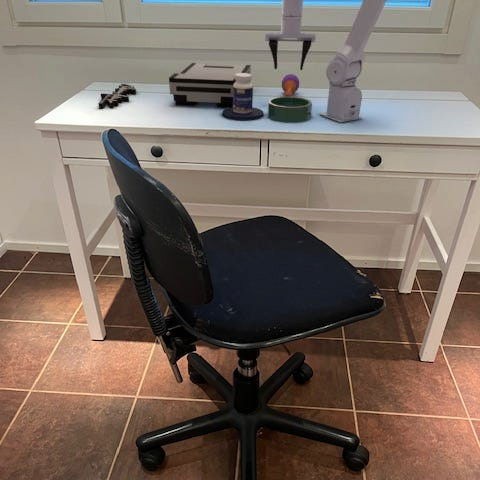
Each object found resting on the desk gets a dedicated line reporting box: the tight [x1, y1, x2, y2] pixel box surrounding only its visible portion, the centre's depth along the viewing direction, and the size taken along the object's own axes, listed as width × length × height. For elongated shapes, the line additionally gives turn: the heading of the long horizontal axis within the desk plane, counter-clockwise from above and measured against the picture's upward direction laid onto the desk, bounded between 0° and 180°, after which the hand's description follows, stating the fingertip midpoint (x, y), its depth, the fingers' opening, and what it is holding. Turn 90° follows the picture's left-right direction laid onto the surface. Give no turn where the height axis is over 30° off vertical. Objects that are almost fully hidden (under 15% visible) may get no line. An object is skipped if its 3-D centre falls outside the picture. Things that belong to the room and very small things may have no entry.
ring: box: [267, 96, 313, 123], centre depth 141 cm, size 12×12×4 cm
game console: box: [168, 62, 252, 109], centre depth 159 cm, size 21×32×8 cm, turn 172°
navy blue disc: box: [221, 106, 265, 122], centre depth 143 cm, size 12×12×1 cm
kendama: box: [281, 73, 300, 97], centre depth 158 cm, size 6×6×20 cm
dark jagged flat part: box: [97, 83, 137, 110], centre depth 158 cm, size 27×2×10 cm
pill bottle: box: [233, 73, 254, 114], centre depth 140 cm, size 6×6×10 cm
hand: (288, 68), depth 146 cm, fingers open, 7 cm apart
